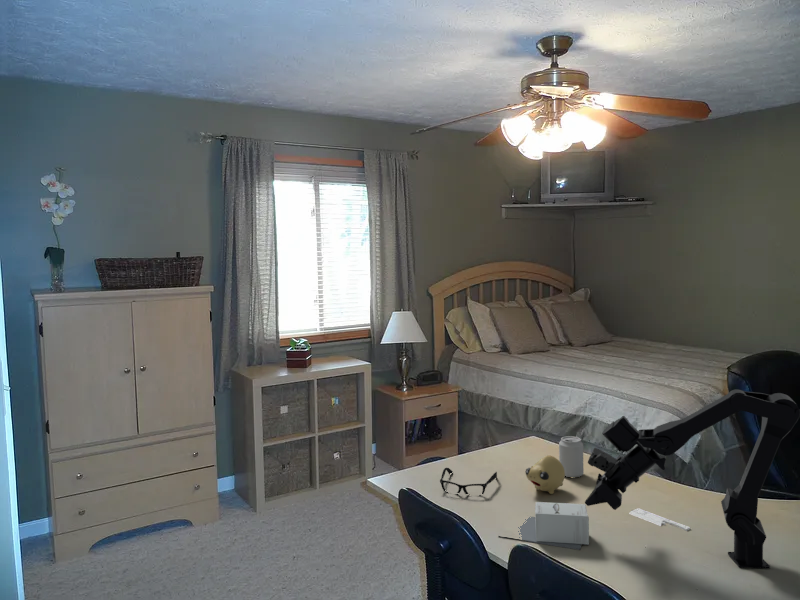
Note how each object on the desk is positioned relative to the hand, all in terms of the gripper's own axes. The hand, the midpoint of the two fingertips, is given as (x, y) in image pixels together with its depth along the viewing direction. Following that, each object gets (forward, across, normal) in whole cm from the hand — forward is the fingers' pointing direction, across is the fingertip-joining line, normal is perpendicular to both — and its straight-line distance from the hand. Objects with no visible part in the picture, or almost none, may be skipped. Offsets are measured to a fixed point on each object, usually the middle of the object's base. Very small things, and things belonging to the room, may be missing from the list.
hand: (586, 503), depth 149 cm
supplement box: (+3, +1, +4) cm, 5 cm away
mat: (+14, 0, -1) cm, 14 cm away
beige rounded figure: (+17, -27, -4) cm, 32 cm away
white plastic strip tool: (-5, -16, +18) cm, 24 cm away
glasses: (+34, -24, -20) cm, 46 cm away
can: (+13, -43, 0) cm, 45 cm away
